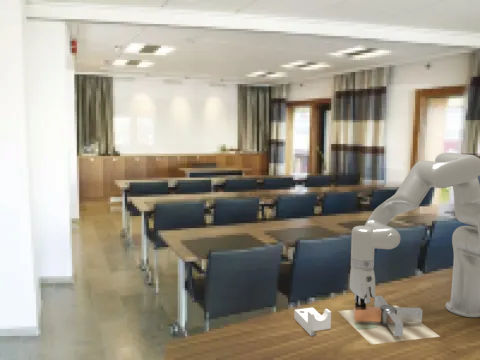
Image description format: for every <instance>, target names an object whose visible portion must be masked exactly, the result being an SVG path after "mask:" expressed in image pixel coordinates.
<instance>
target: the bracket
mask: <svg viewBox="0 0 480 360" xmlns="http://www.w3.org/2000/svg"><path fill="white" fill-rule="evenodd" d="M293 318H294V321H296V322H297V323H298V325H300V326H301V327H302V328H303V329H304V331H306V333H307V334H308V335H309V336H311V337H314V336H317V333H316V332H317V331H325V330H330V329H331V328H332V327H331V326H332V325H331V323H332V311H331V310H329V309H328V308H324V311H323V313H322V314H321V313H319V312H318V311H317V310H316V309H315V308H314V307H305V308H297V309H294V317H293Z"/></svg>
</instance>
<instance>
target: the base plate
mask: <svg viewBox="0 0 480 360" xmlns="http://www.w3.org/2000/svg"><path fill="white" fill-rule="evenodd" d="M393 306H394V307H400V306H398V304H397V305H393ZM337 313H338V314H339V315H340V316H341V317H343V318H344V319H345V320H346V321H347V322H348V324H350V325H351V326H352V327H353V328H354V329H355V330H356V332H358V333H359V334H360V335H361V336H362V337H363V338H364V339H365V340H366V341H367V342H368V343H369V344H370V345H377V344H387V343H388V344H389V343H396V342H397V343H398V342H405V341H414V340H421V339H422V340H424V339H432V338H440V337H441V336H440V335H439V334H437V333H436V332H435V331H433V330H432V329H431V328H429V327H428V326H426V325H425V324H424V323H422V322H402V323H403V336H394V334H393V333H392V331H391V330H390V328H389V327H386V326H383V325H381V324H380V323H379V322H376V321H355V320H354V309H346V310H345V309H344V310H337Z"/></svg>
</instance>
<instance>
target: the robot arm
mask: <svg viewBox="0 0 480 360" xmlns="http://www.w3.org/2000/svg"><path fill="white" fill-rule="evenodd" d="M479 176H480V157H478V156H476V155H473V154H467V153H459V152H458V153H456V152H443V153H442V152H441V153H440V154H438V155H437V156H435V159H434V161H432V160H420V161H417V162H416V163H415V164H414V165H413V166H412V167H411V169H410V171H408V173H407V175H406V176H405V177H404V180H402V183H401V184H400V185H399V187H398V188H397V190H396V192H395V194H393V195H392V196H391V197H389V198H387V199H386V200H385V201H384V202H382V203H381V204H379V205H378V206H377V207H376V208H375V209H374V210H373V211H372V213H371V214H370V216H369V217H368V219H367V220H366V221H365V225H356V226H353V228H352V229H351V241H350V243H351V245H350V246H351V247H350V271H349V273H350V274H349V289H350V291H351V292H352V293H353V296H354V302H355V305H354V307H367V305H368V304H371V298H372V299H375V296H376V275H375V270H374V268H375V267H374V265H375V249H377V250H378V249H381V250H392V249H395V248H397V247H398V246H399V245H400V242H401V234H400V233H399V231H398V230H397V229H395V228H394V227H391V226H390V225H389V226H388V223H390V222H391V220H392V219H394V218H395V217H396V216H398V215H401V214H403V213H407V212H410V211H413V210H416V209H418V207H419V206H420V205H421V203H422V202H423V200H424V198H425V196H427V194H428V192H429V191H430V189H431V188H435V189H447V188H450V187H451V188H452V189H453V203H454V204H453V205H454V215H455V217H456V220H457V221H459V222H460V223H463V224H465V225H461V226H458V227H457V228H455V230H454V231H453V233H452V237H451V243H452V248H453V249H452V250H453V251H452V252H453V266H452V267H453V268H452V280H451V293H450V300H449V301H446V303H445V308H446V309H447V311H448V312H451V314H455V315H457V316H461V317H466V318H480V181H479V178H478V177H479Z"/></svg>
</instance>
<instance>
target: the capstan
mask: <svg viewBox="0 0 480 360" xmlns="http://www.w3.org/2000/svg"><path fill="white" fill-rule="evenodd" d="M394 306H395V305H390V304H388V302H387V301H386V300H385V298H384V297H383V296H382V295H375V298H374V306H366V307H355V306H354V307H353V310H354V320H355V321H376V322H379V323H380V324H381V325H383V326H386V327H389V328H390V330H391V331H392V333H393V334H394V336H403V323H402V322H421V323H422V322H423V312H424V311H423V309H422V308H421V307H403V306H402V307H400V306H399V307H394Z"/></svg>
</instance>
